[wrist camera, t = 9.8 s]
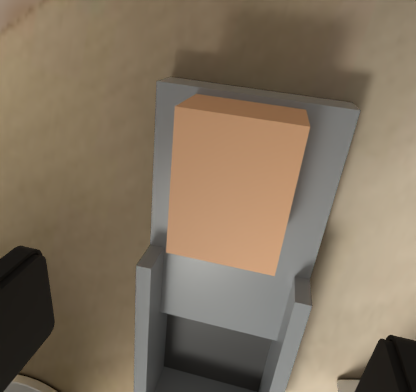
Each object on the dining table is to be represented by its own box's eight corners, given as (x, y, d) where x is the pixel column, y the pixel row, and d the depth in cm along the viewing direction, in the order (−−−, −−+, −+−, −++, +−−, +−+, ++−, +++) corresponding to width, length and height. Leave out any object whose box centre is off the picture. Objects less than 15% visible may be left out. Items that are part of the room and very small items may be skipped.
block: (185, 218, 22) (165, 252, 19) (196, 93, 19) (174, 106, 15) (277, 237, 21) (274, 276, 18) (306, 109, 18) (310, 126, 14)
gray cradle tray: (154, 368, 33) (133, 419, 29) (170, 76, 21) (139, 86, 17) (267, 399, 31) (263, 458, 27) (352, 102, 20) (371, 120, 15)
